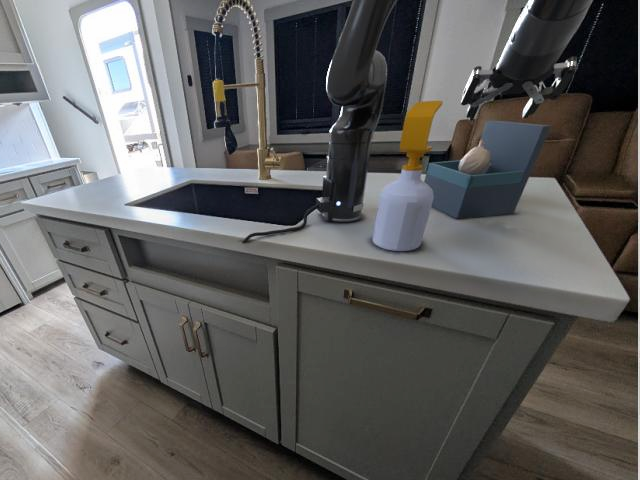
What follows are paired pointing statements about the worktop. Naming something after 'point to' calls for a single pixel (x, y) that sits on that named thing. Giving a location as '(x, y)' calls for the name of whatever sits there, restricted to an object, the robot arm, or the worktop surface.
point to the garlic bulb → (476, 161)
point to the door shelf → (489, 172)
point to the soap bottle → (408, 187)
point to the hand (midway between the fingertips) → (497, 115)
